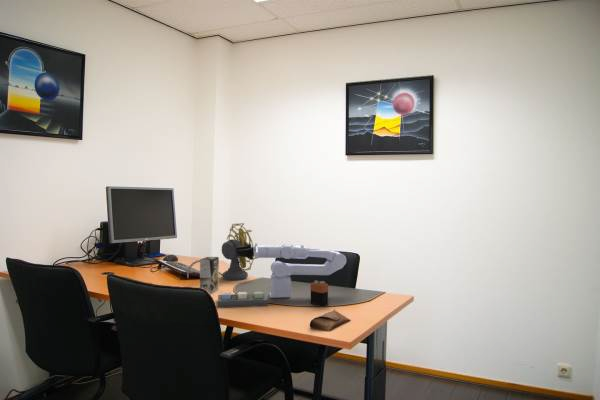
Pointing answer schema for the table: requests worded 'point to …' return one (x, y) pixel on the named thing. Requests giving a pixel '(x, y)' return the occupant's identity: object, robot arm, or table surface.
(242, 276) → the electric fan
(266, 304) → the button panel
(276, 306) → the table surface
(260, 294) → the green button
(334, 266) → the robot arm
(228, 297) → the blue button
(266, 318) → the table surface
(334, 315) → the sunglasses case
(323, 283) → the battery
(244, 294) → the ivory button
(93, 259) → the table surface
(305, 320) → the table surface
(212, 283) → the coffee box
